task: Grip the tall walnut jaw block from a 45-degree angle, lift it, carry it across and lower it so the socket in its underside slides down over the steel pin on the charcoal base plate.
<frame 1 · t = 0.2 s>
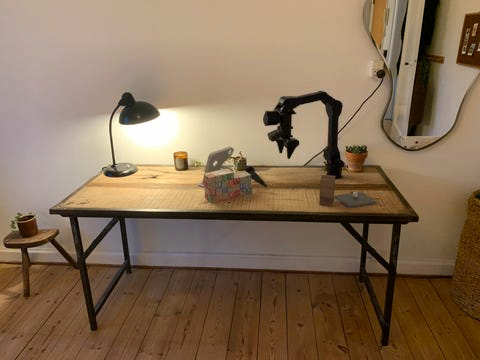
hand: (284, 156, 192), 15 cm above the table, tool pointing down, fingers open, 9 cm apart
walnut jaw block: (326, 203, 176), on the table
charcoal base plate: (354, 200, 177), on the table
phone holder: (216, 183, 202), on the table
microphone: (254, 181, 204), on the table
steel pin: (355, 194, 176), on the charcoal base plate, point 3 cm above the table
stack of blocks: (228, 196, 186), on the table
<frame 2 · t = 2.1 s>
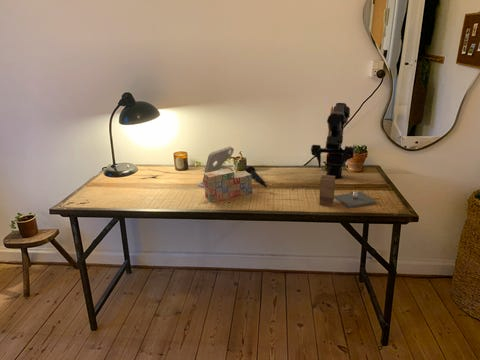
hand: (330, 168, 178), 13 cm above the table, tool tilted 45°, fingers open, 9 cm apart
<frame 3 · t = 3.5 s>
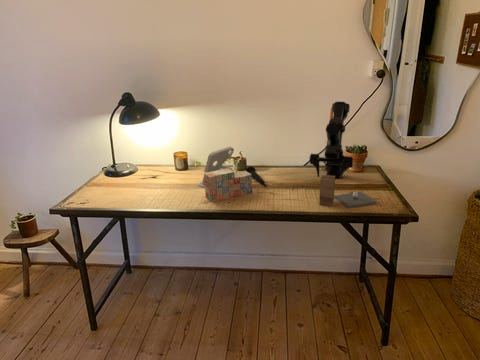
hand: (328, 177, 175), 11 cm above the table, tool tilted 45°, fingers open, 9 cm apart
nothing on the table moved.
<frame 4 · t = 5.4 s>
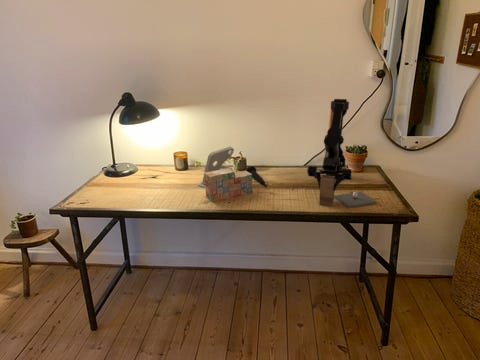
hand: (326, 190, 172), 7 cm above the table, tool tilted 45°, fingers closed on walnut jaw block, 6 cm apart
walnut jaw block: (326, 203, 176), on the table, touching gripper
everything else where it was.
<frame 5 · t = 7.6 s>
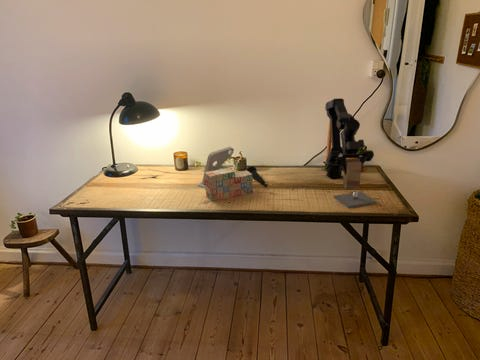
hand: (353, 174, 171), 13 cm above the table, tool tilted 45°, fingers closed on walnut jaw block, 6 cm apart
walnut jaw block: (350, 187, 174), point 7 cm above the table, touching gripper
when the fingers open (9 cm above the table, at t = 9.8 s): walnut jaw block drops 1 cm, resting on charcoal base plate.
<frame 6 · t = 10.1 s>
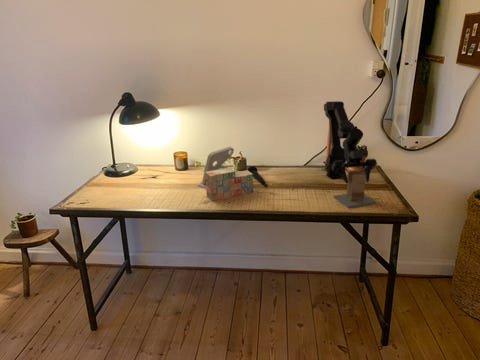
hand: (357, 182, 173), 9 cm above the table, tool tilted 45°, fingers open, 9 cm apart
walnut jaw block: (354, 198, 177), point 1 cm above the table, touching charcoal base plate
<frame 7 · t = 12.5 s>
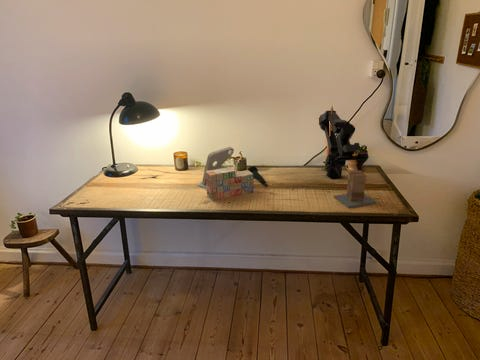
hand: (350, 175, 182), 9 cm above the table, tool tilted 45°, fingers open, 9 cm apart
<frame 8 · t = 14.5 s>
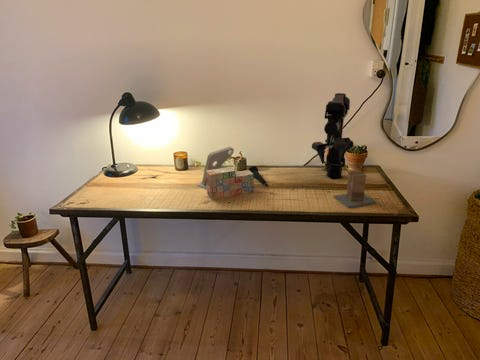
hand: (331, 162, 187), 13 cm above the table, tool pointing down, fingers open, 9 cm apart
at the end: walnut jaw block 0.0 cm from the steel pin (horizontally); walnut jaw block point 1.0 cm above the table; walnut jaw block tilted 0° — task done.
